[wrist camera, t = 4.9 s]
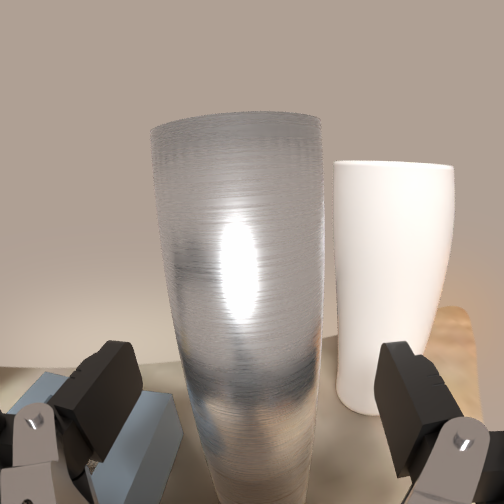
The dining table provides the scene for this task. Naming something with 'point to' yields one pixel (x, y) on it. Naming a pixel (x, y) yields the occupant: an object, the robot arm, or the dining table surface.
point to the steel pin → (246, 290)
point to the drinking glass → (387, 263)
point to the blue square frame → (128, 446)
